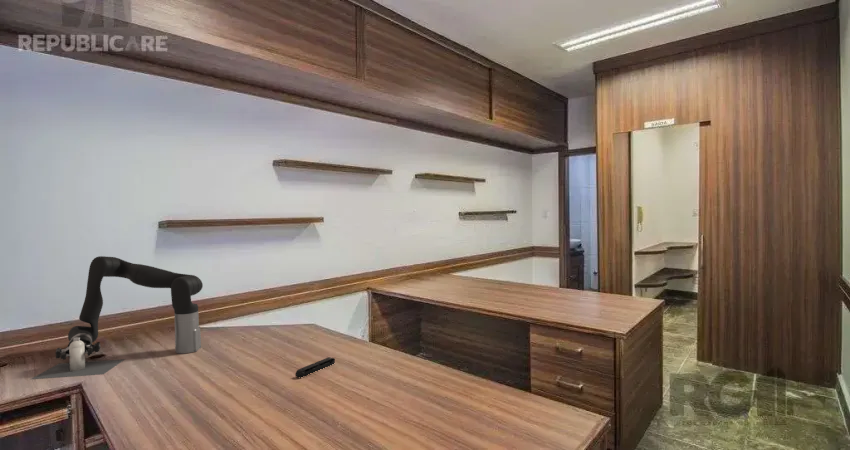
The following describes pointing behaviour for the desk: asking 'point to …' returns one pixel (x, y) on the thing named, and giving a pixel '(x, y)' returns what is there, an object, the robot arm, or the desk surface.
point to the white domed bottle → (77, 355)
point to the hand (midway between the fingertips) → (76, 355)
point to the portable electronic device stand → (315, 367)
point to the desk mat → (89, 369)
